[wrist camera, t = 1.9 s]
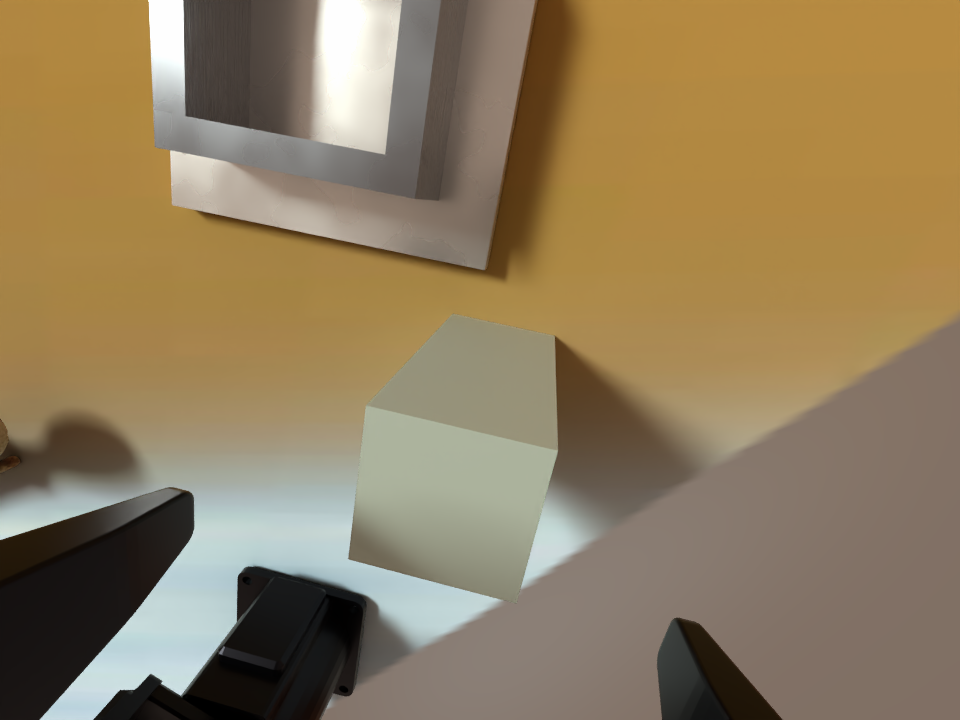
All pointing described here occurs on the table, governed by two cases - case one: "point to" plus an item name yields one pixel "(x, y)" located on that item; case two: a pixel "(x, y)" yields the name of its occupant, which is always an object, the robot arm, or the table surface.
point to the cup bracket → (344, 115)
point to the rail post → (460, 458)
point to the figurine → (0, 444)
